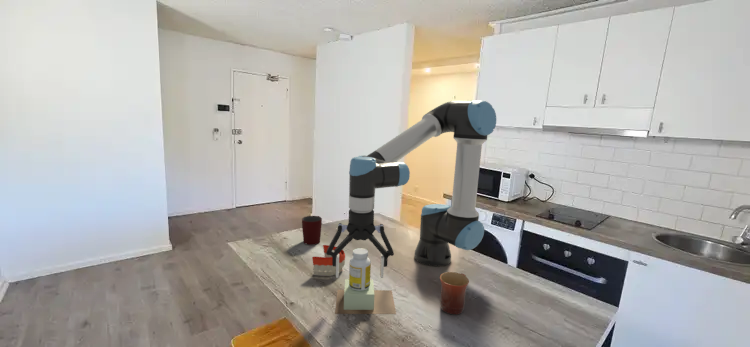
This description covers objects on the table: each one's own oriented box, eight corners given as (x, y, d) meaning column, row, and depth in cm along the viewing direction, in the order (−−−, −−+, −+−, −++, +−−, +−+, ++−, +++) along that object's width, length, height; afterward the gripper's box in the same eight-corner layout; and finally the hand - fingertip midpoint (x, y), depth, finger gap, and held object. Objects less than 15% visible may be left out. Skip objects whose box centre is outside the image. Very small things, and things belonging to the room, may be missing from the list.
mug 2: (458, 321, 96) (461, 289, 94) (432, 309, 101) (434, 278, 99) (475, 304, 105) (478, 274, 103) (450, 294, 110) (452, 265, 109)
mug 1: (311, 234, 159) (311, 213, 157) (327, 237, 157) (328, 215, 155) (298, 243, 148) (298, 220, 146) (316, 246, 145) (316, 223, 143)
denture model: (339, 282, 116) (339, 261, 114) (311, 278, 117) (311, 258, 116) (348, 266, 128) (349, 247, 126) (323, 263, 130) (323, 244, 128)
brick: (372, 293, 107) (373, 279, 106) (373, 309, 98) (374, 294, 97) (344, 293, 106) (345, 279, 106) (343, 309, 98) (344, 294, 97)
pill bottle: (369, 281, 105) (371, 247, 103) (370, 292, 98) (371, 255, 96) (349, 280, 104) (350, 246, 102) (348, 291, 98) (349, 255, 96)
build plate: (391, 293, 110) (391, 290, 109) (396, 317, 97) (396, 313, 97) (337, 293, 108) (337, 290, 108) (334, 317, 96) (334, 313, 96)
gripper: (401, 206, 101) (398, 270, 105) (320, 204, 100) (320, 269, 104) (405, 213, 94) (401, 282, 98) (317, 212, 93) (317, 281, 96)
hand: (359, 275), depth 101 cm, fingers open, 13 cm apart
